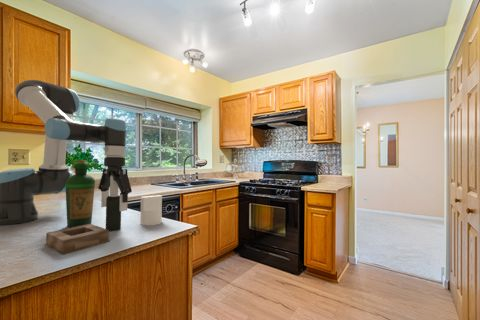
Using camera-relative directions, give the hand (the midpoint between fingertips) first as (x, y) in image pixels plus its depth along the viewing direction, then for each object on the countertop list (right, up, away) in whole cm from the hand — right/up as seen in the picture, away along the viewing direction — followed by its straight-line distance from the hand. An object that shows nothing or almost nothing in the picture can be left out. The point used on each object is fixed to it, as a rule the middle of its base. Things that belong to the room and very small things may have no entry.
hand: (113, 208), depth 91 cm
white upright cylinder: (+11, -9, +11) cm, 18 cm away
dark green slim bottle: (0, -9, 0) cm, 9 cm away
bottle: (-17, -8, +5) cm, 20 cm away
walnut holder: (-3, -8, -16) cm, 18 cm away
